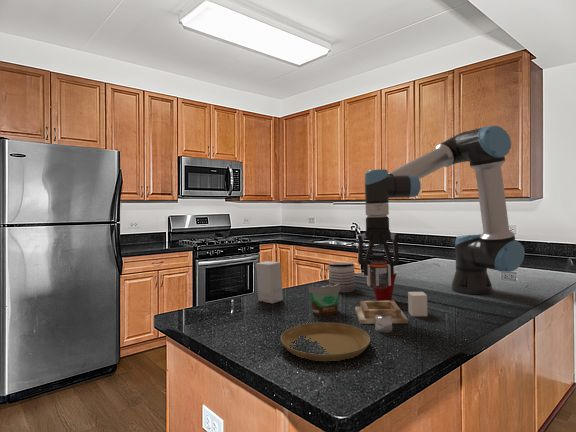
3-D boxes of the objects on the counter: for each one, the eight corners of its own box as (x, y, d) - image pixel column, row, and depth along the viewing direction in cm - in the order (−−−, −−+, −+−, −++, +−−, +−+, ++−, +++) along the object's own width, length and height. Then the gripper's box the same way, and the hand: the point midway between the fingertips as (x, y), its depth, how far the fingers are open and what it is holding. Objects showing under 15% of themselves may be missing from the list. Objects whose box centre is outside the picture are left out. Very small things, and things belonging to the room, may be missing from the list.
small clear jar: (390, 327, 116) (390, 314, 116) (393, 332, 112) (393, 319, 111) (374, 327, 117) (373, 314, 117) (376, 332, 112) (376, 319, 112)
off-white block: (423, 311, 130) (422, 291, 130) (427, 316, 125) (427, 295, 125) (408, 311, 131) (407, 291, 130) (412, 316, 126) (411, 295, 125)
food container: (318, 318, 127) (317, 289, 126) (309, 314, 132) (308, 286, 132) (348, 312, 132) (347, 284, 132) (338, 308, 138) (337, 281, 137)
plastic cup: (400, 304, 140) (399, 272, 140) (370, 303, 142) (369, 272, 142) (397, 296, 151) (396, 266, 150) (369, 296, 153) (369, 267, 152)
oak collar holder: (397, 309, 134) (397, 299, 134) (408, 323, 119) (407, 311, 119) (355, 310, 135) (354, 299, 135) (360, 323, 120) (359, 312, 120)
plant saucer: (359, 330, 115) (359, 319, 115) (381, 365, 91) (381, 351, 91) (280, 334, 114) (280, 323, 114) (281, 370, 90) (281, 356, 90)
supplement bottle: (367, 285, 129) (366, 253, 129) (384, 285, 130) (383, 252, 129) (372, 290, 123) (372, 255, 123) (390, 289, 124) (389, 254, 123)
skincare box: (283, 300, 152) (281, 262, 151) (271, 304, 147) (270, 264, 146) (268, 297, 157) (267, 260, 157) (257, 301, 152) (255, 262, 152)
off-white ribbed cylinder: (326, 291, 164) (325, 264, 163) (333, 285, 174) (332, 259, 174) (352, 293, 159) (351, 264, 159) (357, 287, 170) (356, 260, 169)
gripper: (349, 217, 123) (351, 288, 124) (408, 215, 121) (410, 287, 122) (347, 216, 130) (349, 282, 131) (403, 214, 129) (404, 282, 130)
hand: (378, 284), depth 127 cm, fingers closed on supplement bottle, 6 cm apart
